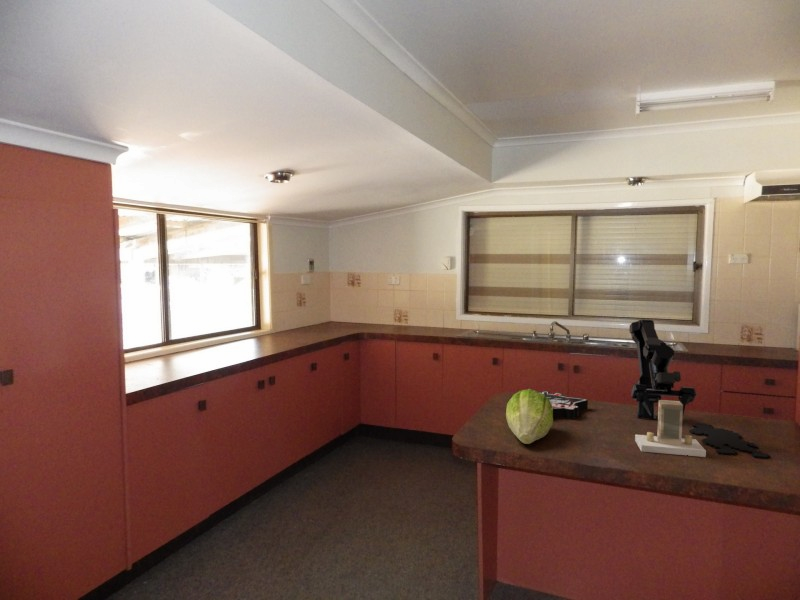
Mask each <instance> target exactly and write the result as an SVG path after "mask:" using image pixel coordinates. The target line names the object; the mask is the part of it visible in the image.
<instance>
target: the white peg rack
mask: <svg viewBox="0 0 800 600" xmlns="http://www.w3.org/2000/svg"><path fill="white" fill-rule="evenodd" d="M634 441H635V443H636V445H637V446H638V448H639V450H640V452H645V453H655V454H665V455H666V454H667V455H678V456H687V455H688V456H691V457H701V458H706V456H707V450H706V449H705V448H704V447H703V446H702V444H701V443H700V442H699V441H698V440H697V439H694V438H693V436H692V435H690V434H685V435H684V438H682V439H681V445H671V444H660V443H659V441H658V440H657V435H655V433H654V432H651V431H647V432H646V434H636V433H635V435H634Z"/></svg>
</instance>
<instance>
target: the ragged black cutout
mask: <svg viewBox="0 0 800 600" xmlns="http://www.w3.org/2000/svg"><path fill="white" fill-rule="evenodd" d="M691 427H692V428H691V429H688V432H689V433H690V434H691V435H695V436H701V437H702V436H705V437H706V438H703V439H702V438H701V442H702V443H703V444H704V445H705V446H709V447H711V448H712V447H713V448H714V449H715V453H717V455H722V454H723V456H724V455H725V456H733V457H734V456H736V455H739V454H738V453H739V452H741V453H747V454H750V456H751V457H752V458H753V459H762V460H769V459H771V455H770V454H769V453H764V452H763V451H761V450H759V446H758V445H757V444H755V443H754V442H750V441H746V440H742V439H743V436H742V435H741V434H740V433H738V432H734V431H732V430H729V429H725V428H719V427H718V428H717V427H714V425H712V424H708V423H703V422H695V423H692V424H691ZM693 427H694V428H693Z"/></svg>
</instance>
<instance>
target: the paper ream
mask: <svg viewBox="0 0 800 600" xmlns="http://www.w3.org/2000/svg"><path fill="white" fill-rule="evenodd" d="M657 409H658V410H657V435H656V436H657V440H658V441H659V443H660V444H671V445H681V439H682V436H683V435H682V434H683V418H682V415H683V404H682V403H681V402H680V401H679V400H678V401H677V400H667V399H661V400H659V403H658V406H657ZM683 416H684V415H683Z"/></svg>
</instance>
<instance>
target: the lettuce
mask: <svg viewBox="0 0 800 600" xmlns="http://www.w3.org/2000/svg"><path fill="white" fill-rule="evenodd" d="M539 392H540V391H537V390H534V389H531V388H527V389H521V390H519V391H517V392H516V393H514V394H513V395H512V397H511V398H510V399H509V400H508V402H507V404H506V410H505V411H506V412H505V419H506V422H507V425H508V427H509V429H510V430H511V433H513V434H514V436H515V437H516V438H517V439H518V440H519V441H520V442H521V443H522V444H524V445H525V444H526V445H530V444H532V443H534V442H535V441H538V440H540V439H541V438H544V437H546V435H547V434H548V433H549V431H550V430H551V427H552V425H553V424H554V418H553V408H552V405H551V403H550V400H549V399H548V398H547V397H546V396H545V395H543V394H541V393H539Z"/></svg>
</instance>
